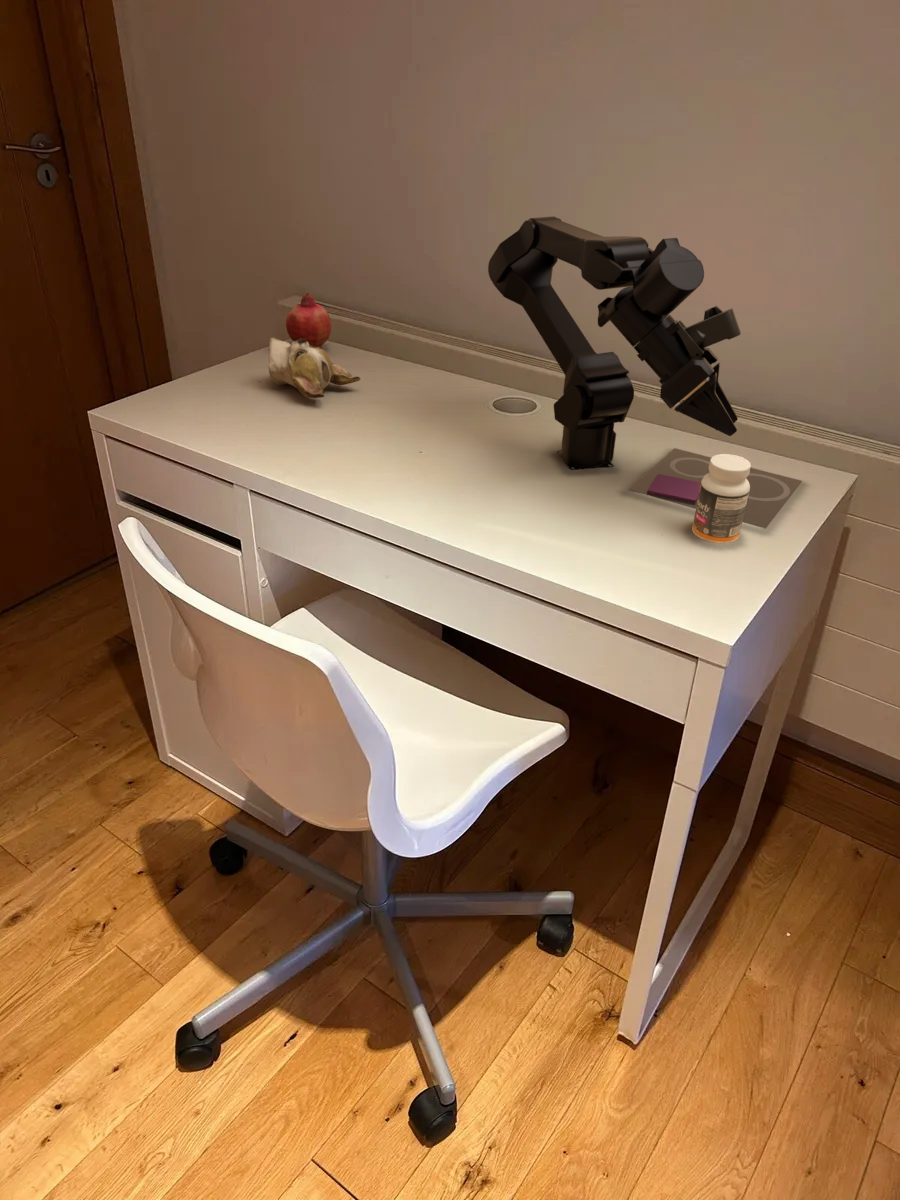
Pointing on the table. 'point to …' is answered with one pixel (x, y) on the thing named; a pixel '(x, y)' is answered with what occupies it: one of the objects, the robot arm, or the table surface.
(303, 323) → the fruit
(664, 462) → the hob
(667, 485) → the plum cloth
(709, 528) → the pill bottle
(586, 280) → the robot arm
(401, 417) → the table surface
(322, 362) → the ceramic sculpture
